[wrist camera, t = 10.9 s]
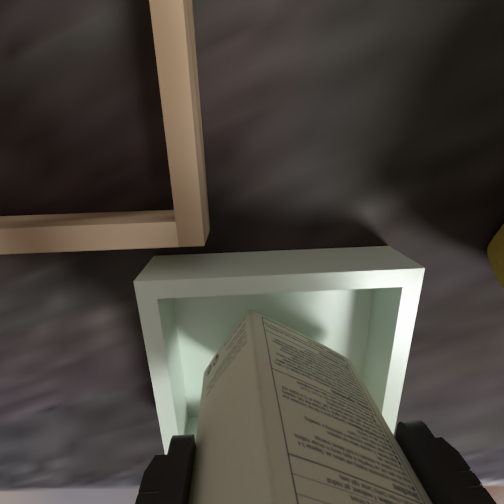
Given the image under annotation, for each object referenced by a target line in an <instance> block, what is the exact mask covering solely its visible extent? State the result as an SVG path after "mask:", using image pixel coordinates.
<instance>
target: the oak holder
mask: <svg viewBox="0 0 504 504" xmlns="http://www.w3.org/2000/svg"><path fill="white" fill-rule="evenodd" d="M149 3H150V12H151V20H152V29H153V37H154V45H155V54H156V62H157V70H158V79H159V87H160V95H161V104H162V112H163V121H164V129H165V137H166V146H167V154H168V162H169V171H170V179H171V187H172V196H173V204H174V210H156V211H129V212H102V213H75V214H47V215H20V216H0V254H23V253H47V252H71V251H95V250H119V249H143V248H167V247H191V246H205V243H206V240H207V237H208V234H209V231H210V222H209V209H208V197H207V184H206V171H205V159H204V146H203V133H202V121H201V108H200V96H199V83H198V70H197V58H196V45H195V32H194V20H193V7H192V0H149Z"/></svg>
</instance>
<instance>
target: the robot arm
mask: <svg viewBox="0 0 504 504" xmlns="http://www.w3.org/2000/svg"><path fill="white" fill-rule="evenodd" d="M395 439H396V440H397V442H398V444H399V446H400V447H401V449H402V451H403V453H404V454H405V456H406V458H407V460H408V461H409V463H410V465H411V467H412V469H413V470H414V472H415V474H416V476H417V477H418V479H419V481H420V483H421V484H422V486H423V488H424V490H425V491H426V493H427V495H428V497H429V498H430V500H431V502H432V504H496V502H495V501H494V500H493V498H492V497H491V496H490V494H489V493H488V491H487V490H486V489H485V488H483V486H482V483H481V482H480V481H479V479H478V478H477V476H476V475H475V474H474V473H472V471H471V468H470V467H469V466H468V464H467V463H466V461H465V460H464V459H463V457H462V456H461V455H460V453H459V452H458V451H457V450H456V449H455V448H453V447H452V446H451V445H450V444H449V443H448V442H446V441H445V440H444V439H443V438H442V437H440V438H435V437H434V436H433V434H432V433H431V431H430V430H429V428H428V427H427V426H426V424H425V423H424V422H422V421H406V422H399V423H398V425H397V430H396V436H395ZM195 449H196V444H195V437H194V434H188V435H173V436H172V438H171V440H170V444H169V449H168V453H167V455H155V457H154V458H153V460H152V461H151V463H150V464H149V466H148V467H147V469H146V470H145V472H144V475H143V478H142V482H141V485H140V489H139V494H138V496H137V499H136V503H135V504H188V503H189V496H190V487H191V480H192V472H193V465H194V457H195Z"/></svg>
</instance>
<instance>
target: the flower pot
mask: <svg viewBox="0 0 504 504" xmlns="http://www.w3.org/2000/svg"><path fill="white" fill-rule="evenodd" d="M487 254H488V259H489V263H490V265H491V268H492V270H493V272H494V274H495V276H496V278H497V279H498V281H499V282H500V284H501V285H502V287H503V288H504V224H503V225H502V227H501V228H500V230H499V231H498V232H497V233H496V235H495V236H494V237H493V239H492V240H491V242H490V243H489V245H488V247H487Z"/></svg>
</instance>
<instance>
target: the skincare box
mask: <svg viewBox="0 0 504 504" xmlns="http://www.w3.org/2000/svg"><path fill="white" fill-rule="evenodd" d="M195 444H196V449H195V457H194V465H193V472H192V480H191V487H190V496H189V503H188V504H432V502H431V500H430V498H429V497H428V495H427V493H426V491H425V490H424V488H423V486H422V484H421V483H420V481H419V479H418V477H417V476H416V474H415V472H414V470H413V469H412V467H411V465H410V463H409V461H408V460H407V458H406V456H405V454H404V453H403V451H402V449H401V447H400V446H399V444H398V442H397V440H396V439H395V437H394V435H393V433H392V432H391V430H390V428H389V427H388V425H387V423H386V421H385V419H384V418H383V416H382V414H381V412H380V411H379V409H378V407H377V405H376V404H375V402H374V400H373V398H372V397H371V395H370V393H369V391H368V390H367V388H366V386H365V384H364V383H363V381H362V379H361V377H360V376H359V374H358V372H357V370H356V368H355V367H354V365H353V363H352V361H351V360H350V359H348V358H346V357H344V356H343V355H341V354H339V353H338V352H336V351H334V350H332V349H330V348H328V347H326V346H325V345H323V344H321V343H319V342H317V341H315V340H313V339H311V338H309V337H307V336H305V335H303V334H301V333H299V332H297V331H295V330H294V329H291V328H289V327H287V326H285V325H283V324H281V323H279V322H277V321H275V320H273V319H271V318H269V317H267V316H265V315H262V314H260V313H258V312H256V311H254V310H251V309H250V310H248V311H247V312H246V313H245V314H244V316H243V317H242V319H241V320H240V321H239V323H238V324H237V325H236V326H235V328H234V329H233V330H232V332H231V333H230V335H229V336H228V337H227V339H226V340H225V341H224V343H223V344H222V346H221V347H220V348H219V350H218V351H217V353H216V354H215V356H214V357H213V359H212V361H211V362H210V364H209V365H208V367H207V368H206V370H205V372H204V376H203V385H202V392H201V400H200V408H199V417H198V426H197V435H196V443H195Z"/></svg>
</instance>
